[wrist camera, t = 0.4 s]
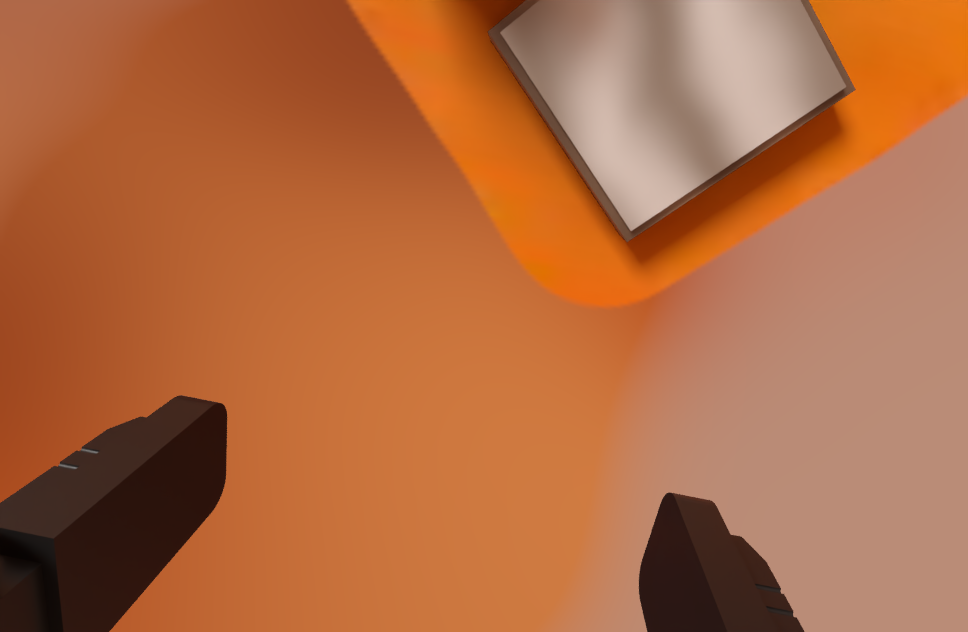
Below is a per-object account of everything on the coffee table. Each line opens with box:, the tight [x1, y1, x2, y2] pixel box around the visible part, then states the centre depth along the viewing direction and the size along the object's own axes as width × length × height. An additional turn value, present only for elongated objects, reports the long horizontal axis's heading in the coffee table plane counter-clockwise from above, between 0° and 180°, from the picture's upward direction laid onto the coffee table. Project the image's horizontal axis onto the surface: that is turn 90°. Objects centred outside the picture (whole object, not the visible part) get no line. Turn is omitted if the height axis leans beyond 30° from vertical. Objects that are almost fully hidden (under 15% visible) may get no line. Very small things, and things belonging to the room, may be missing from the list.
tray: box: [488, 0, 856, 242], centre depth 30 cm, size 14×14×3 cm
